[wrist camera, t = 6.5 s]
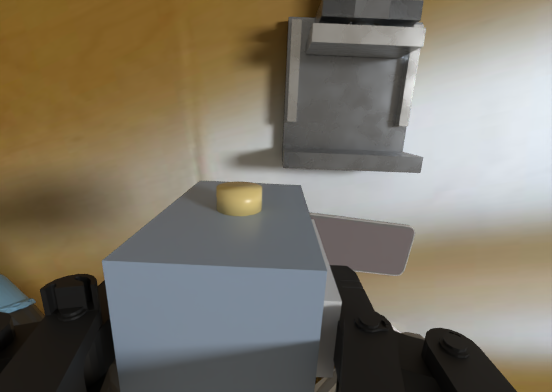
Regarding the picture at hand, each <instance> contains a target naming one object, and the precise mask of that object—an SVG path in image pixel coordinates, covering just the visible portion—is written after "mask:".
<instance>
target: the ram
mask: <svg viewBox="0 0 552 392" xmlns="http://www.w3.org/2000/svg"><path fill="white" fill-rule="evenodd" d="M425 32H426V28H418V27H395V26H373V23H362V22H352V25H350V24H327V23H313V25H312V27H311V30H310V32H309V35H308V37H307V47H306V54H313V55H336V56H359V57H383V58H401V57H403V56H405V55H407V54H409V53H411V52H413V51H415V50H417V49H419V48H421V47H423V44H424V38H425Z"/></svg>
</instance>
